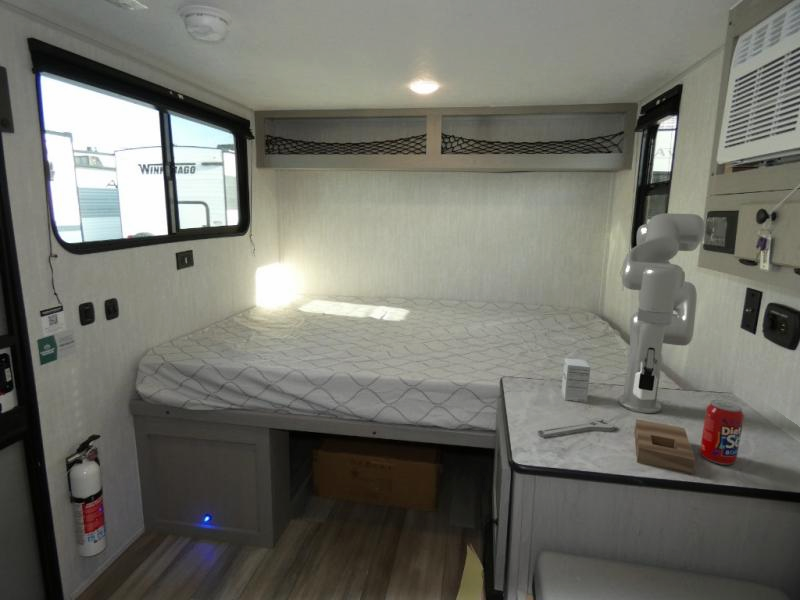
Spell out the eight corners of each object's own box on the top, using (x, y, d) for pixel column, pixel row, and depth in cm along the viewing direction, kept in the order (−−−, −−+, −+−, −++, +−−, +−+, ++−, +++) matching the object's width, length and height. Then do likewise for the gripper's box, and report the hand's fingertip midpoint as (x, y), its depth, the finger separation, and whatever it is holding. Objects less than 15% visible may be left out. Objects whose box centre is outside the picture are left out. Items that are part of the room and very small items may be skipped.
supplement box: (560, 392, 160) (564, 357, 158) (583, 394, 159) (586, 359, 156) (563, 400, 153) (567, 364, 151) (587, 402, 152) (591, 366, 149)
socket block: (634, 432, 132) (636, 419, 131) (682, 441, 127) (684, 428, 127) (637, 462, 116) (638, 447, 115) (692, 474, 111) (694, 459, 111)
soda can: (699, 448, 124) (708, 396, 121) (735, 457, 120) (744, 403, 117) (698, 460, 118) (707, 406, 115) (736, 470, 113) (746, 414, 110)
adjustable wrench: (540, 440, 128) (540, 434, 127) (528, 429, 134) (529, 424, 133) (618, 431, 133) (618, 425, 133) (603, 421, 139) (604, 416, 139)
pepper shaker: (631, 394, 120) (636, 359, 118) (646, 394, 120) (651, 359, 118) (640, 400, 116) (645, 365, 114) (655, 400, 116) (660, 365, 114)
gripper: (637, 308, 123) (629, 372, 126) (637, 322, 108) (628, 394, 112) (669, 311, 119) (660, 377, 123) (674, 326, 104) (663, 400, 108)
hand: (645, 384), depth 117 cm, fingers closed on pepper shaker, 5 cm apart
